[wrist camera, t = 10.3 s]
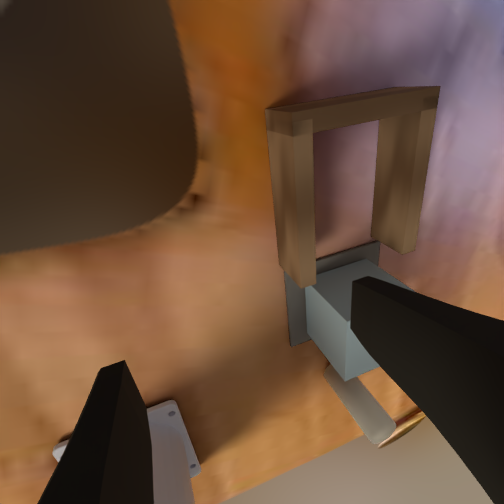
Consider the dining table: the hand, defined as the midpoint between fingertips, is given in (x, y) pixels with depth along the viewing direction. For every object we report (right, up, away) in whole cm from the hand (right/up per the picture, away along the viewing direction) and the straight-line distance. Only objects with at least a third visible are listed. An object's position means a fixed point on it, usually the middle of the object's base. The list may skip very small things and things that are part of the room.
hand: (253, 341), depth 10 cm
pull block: (+7, -3, +15) cm, 17 cm away
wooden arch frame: (+5, +7, +10) cm, 13 cm away
